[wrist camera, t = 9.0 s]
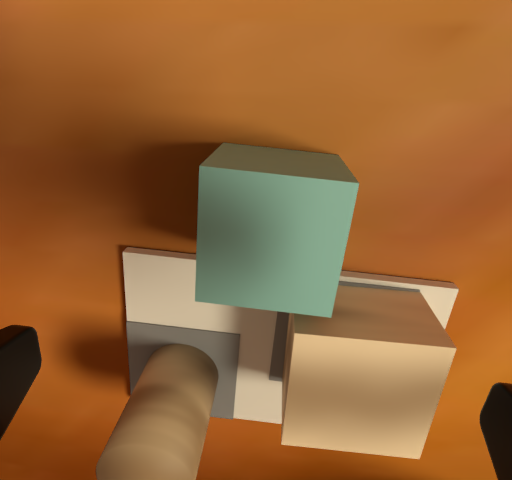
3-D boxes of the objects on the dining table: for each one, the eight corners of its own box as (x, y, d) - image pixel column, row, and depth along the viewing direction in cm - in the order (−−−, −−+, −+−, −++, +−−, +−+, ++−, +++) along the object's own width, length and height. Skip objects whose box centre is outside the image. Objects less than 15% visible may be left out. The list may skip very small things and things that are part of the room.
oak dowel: (216, 404, 21) (192, 517, 16) (147, 396, 21) (99, 505, 16) (220, 348, 20) (194, 452, 14) (145, 339, 20) (91, 438, 14)
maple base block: (394, 389, 20) (419, 459, 16) (282, 378, 20) (281, 444, 16) (420, 292, 17) (456, 348, 14) (292, 281, 18) (294, 333, 14)
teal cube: (319, 257, 18) (331, 317, 13) (217, 246, 18) (194, 301, 14) (338, 154, 16) (359, 183, 11) (223, 142, 16) (199, 165, 12)
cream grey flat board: (403, 430, 22) (406, 441, 21) (136, 397, 22) (131, 406, 22) (453, 282, 18) (459, 290, 17) (127, 246, 18) (121, 252, 18)
